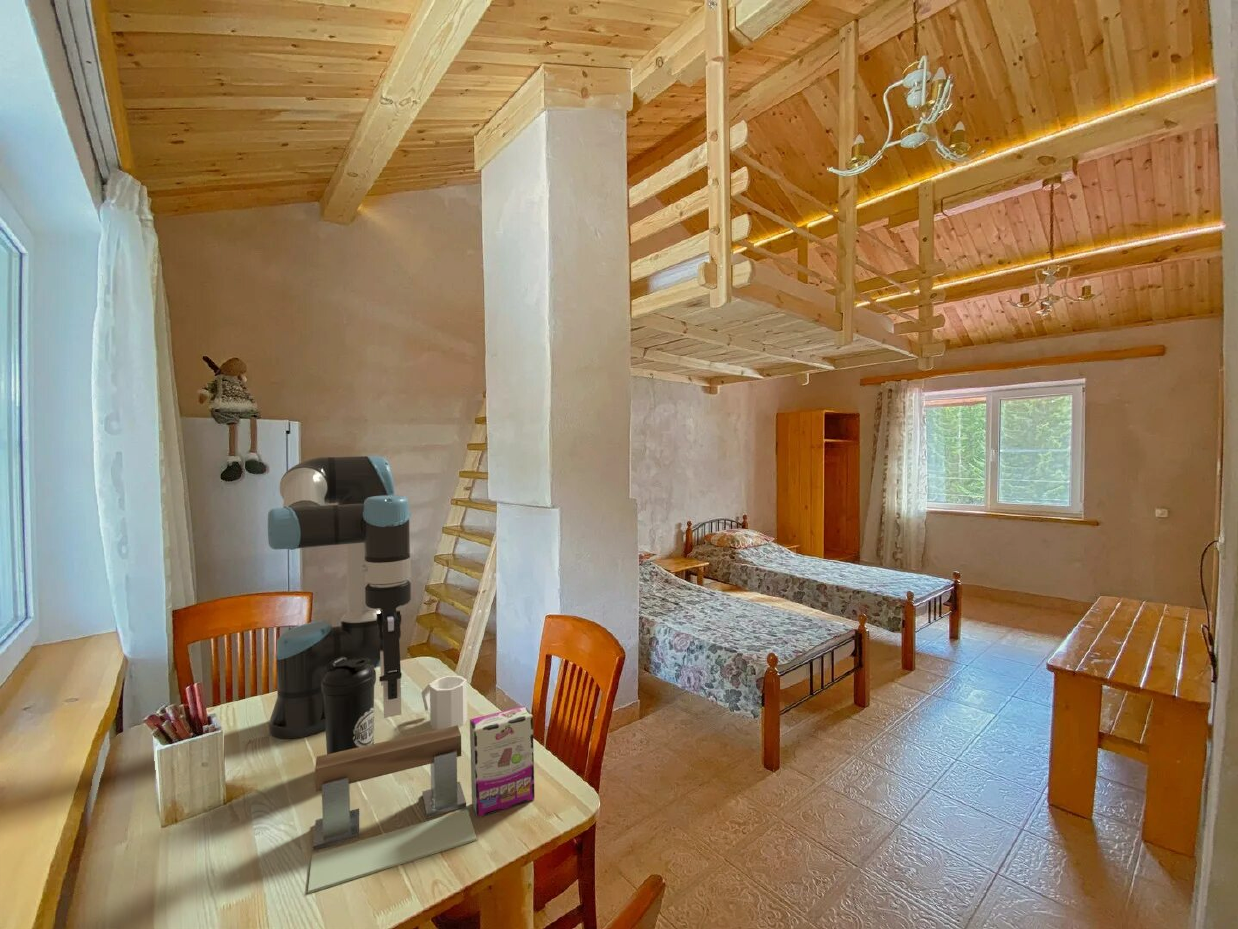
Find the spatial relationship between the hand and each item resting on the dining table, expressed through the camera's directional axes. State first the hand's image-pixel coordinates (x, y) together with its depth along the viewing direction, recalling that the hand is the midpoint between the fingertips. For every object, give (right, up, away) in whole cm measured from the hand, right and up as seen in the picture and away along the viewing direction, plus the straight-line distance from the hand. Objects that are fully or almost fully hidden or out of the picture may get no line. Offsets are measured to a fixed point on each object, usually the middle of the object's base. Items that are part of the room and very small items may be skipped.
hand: (390, 698), depth 97 cm
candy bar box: (+19, -22, +5) cm, 29 cm away
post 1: (-8, -22, -3) cm, 23 cm away
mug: (-2, -21, +34) cm, 40 cm away
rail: (0, -13, +1) cm, 13 cm away
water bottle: (-15, -21, +15) cm, 30 cm away
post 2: (+8, -22, +5) cm, 23 cm away
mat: (+4, -22, -7) cm, 23 cm away
